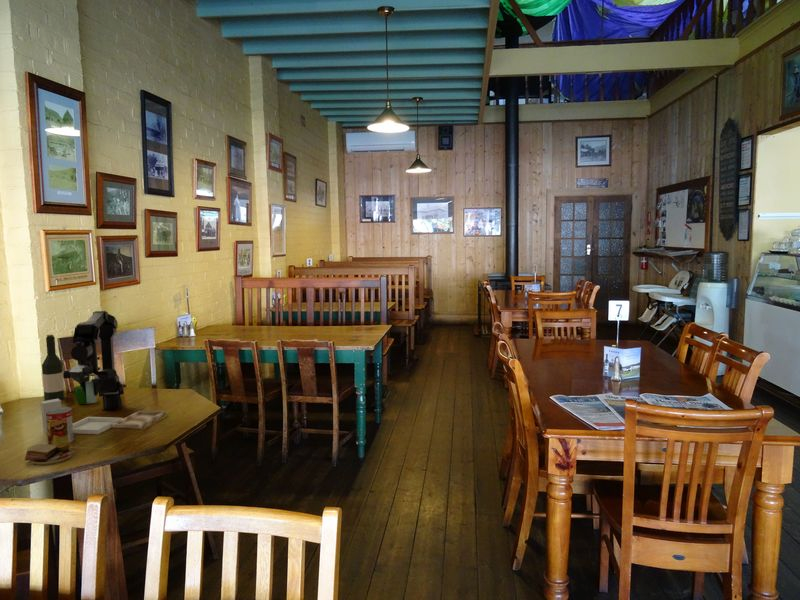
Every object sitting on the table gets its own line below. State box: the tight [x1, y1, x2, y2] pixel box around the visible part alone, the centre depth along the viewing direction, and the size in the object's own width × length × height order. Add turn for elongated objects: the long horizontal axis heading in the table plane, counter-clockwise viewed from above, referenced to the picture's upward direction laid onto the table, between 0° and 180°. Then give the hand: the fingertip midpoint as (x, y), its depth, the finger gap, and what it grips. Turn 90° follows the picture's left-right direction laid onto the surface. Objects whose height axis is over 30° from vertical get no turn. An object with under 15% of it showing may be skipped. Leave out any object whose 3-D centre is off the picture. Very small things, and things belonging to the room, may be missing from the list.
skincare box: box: [40, 399, 62, 434], centre depth 217 cm, size 6×4×12 cm
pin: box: [85, 380, 98, 404], centre depth 219 cm, size 3×3×8 cm
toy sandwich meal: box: [24, 442, 75, 466], centre depth 189 cm, size 12×14×5 cm
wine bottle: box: [41, 334, 66, 401], centre depth 261 cm, size 8×8×30 cm
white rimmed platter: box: [72, 416, 123, 435], centre depth 220 cm, size 15×15×2 cm
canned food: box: [46, 406, 74, 446], centre depth 204 cm, size 8×8×12 cm
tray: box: [111, 410, 167, 430], centre depth 227 cm, size 18×12×2 cm, turn 172°
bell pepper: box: [73, 384, 89, 405], centre depth 255 cm, size 8×8×10 cm
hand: (91, 395), depth 219 cm, fingers closed on pin, 3 cm apart
